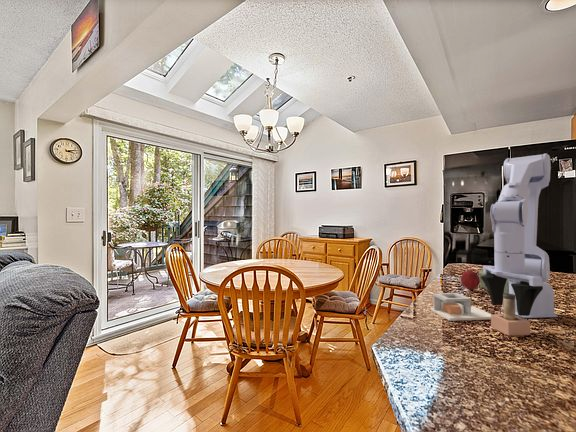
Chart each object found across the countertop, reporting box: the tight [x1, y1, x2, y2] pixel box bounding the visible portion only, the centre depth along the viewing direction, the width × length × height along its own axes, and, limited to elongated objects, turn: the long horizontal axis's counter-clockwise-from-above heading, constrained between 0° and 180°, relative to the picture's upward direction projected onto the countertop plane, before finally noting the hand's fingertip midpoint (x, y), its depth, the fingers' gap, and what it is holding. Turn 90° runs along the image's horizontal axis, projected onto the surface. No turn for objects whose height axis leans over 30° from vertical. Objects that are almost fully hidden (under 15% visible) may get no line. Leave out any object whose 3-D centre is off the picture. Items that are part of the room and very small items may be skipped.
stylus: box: [502, 293, 516, 321], centre depth 69 cm, size 2×2×8 cm
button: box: [444, 303, 460, 314], centre depth 80 cm, size 3×3×2 cm
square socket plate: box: [429, 292, 493, 322], centre depth 81 cm, size 13×9×5 cm
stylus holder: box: [490, 313, 531, 337], centre depth 69 cm, size 5×5×3 cm
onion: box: [460, 267, 480, 291], centre depth 106 cm, size 6×6×8 cm
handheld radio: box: [478, 269, 509, 294], centre depth 100 cm, size 7×3×25 cm
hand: (509, 309), depth 69 cm, fingers open, 7 cm apart
